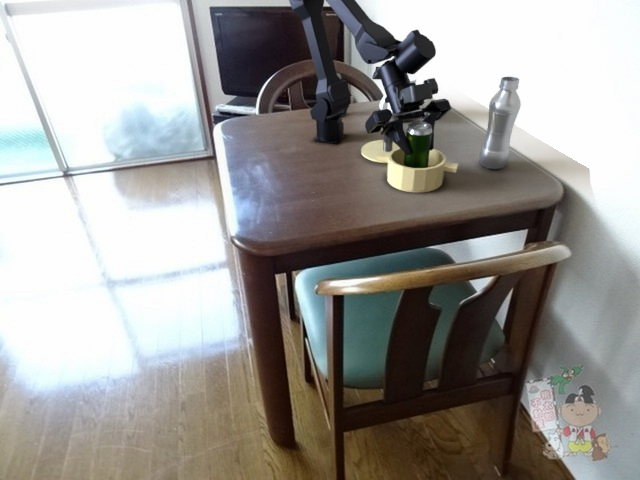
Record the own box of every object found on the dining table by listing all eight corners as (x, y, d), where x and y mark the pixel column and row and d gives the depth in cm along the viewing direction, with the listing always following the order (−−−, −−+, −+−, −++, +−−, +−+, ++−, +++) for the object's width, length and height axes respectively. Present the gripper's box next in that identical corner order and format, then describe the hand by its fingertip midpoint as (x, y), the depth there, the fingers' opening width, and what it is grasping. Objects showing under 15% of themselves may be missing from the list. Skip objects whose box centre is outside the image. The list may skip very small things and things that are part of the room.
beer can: (413, 184, 95) (419, 132, 88) (397, 175, 99) (401, 125, 92) (431, 178, 97) (438, 126, 90) (414, 169, 101) (420, 119, 94)
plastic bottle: (506, 161, 104) (526, 75, 92) (506, 174, 99) (527, 84, 87) (478, 158, 106) (494, 73, 94) (476, 170, 101) (493, 82, 89)
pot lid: (405, 169, 103) (407, 146, 99) (353, 160, 108) (353, 139, 104) (420, 147, 112) (422, 126, 109) (371, 140, 117) (372, 120, 114)
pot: (448, 199, 91) (452, 175, 87) (368, 184, 97) (368, 162, 94) (459, 174, 100) (463, 151, 96) (385, 162, 106) (386, 141, 103)
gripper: (373, 71, 85) (399, 144, 83) (452, 59, 90) (478, 128, 88) (354, 100, 95) (377, 166, 93) (426, 88, 101) (449, 149, 99)
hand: (420, 152), depth 93 cm, fingers closed on beer can, 5 cm apart
